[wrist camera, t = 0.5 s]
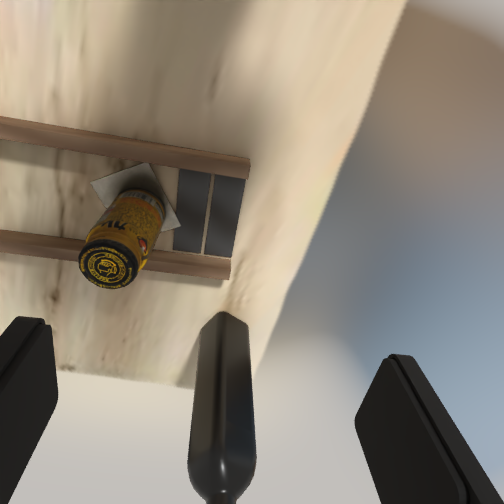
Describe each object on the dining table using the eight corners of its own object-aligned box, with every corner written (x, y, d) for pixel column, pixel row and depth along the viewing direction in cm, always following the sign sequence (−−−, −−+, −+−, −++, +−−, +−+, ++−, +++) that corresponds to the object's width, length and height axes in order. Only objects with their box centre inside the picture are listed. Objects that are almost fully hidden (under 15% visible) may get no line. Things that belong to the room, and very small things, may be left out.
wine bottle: (228, 347, 55) (225, 621, 29) (197, 330, 52) (166, 610, 27) (251, 325, 52) (271, 599, 27) (221, 307, 50) (211, 586, 25)
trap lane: (-45, 108, 35) (-67, 113, 33) (249, 159, 40) (250, 167, 37) (-16, 237, 43) (-32, 250, 40) (228, 269, 47) (228, 282, 44)
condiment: (128, 242, 44) (93, 305, 34) (90, 181, 40) (38, 232, 30) (181, 225, 43) (162, 284, 33) (148, 160, 39) (114, 205, 29)
